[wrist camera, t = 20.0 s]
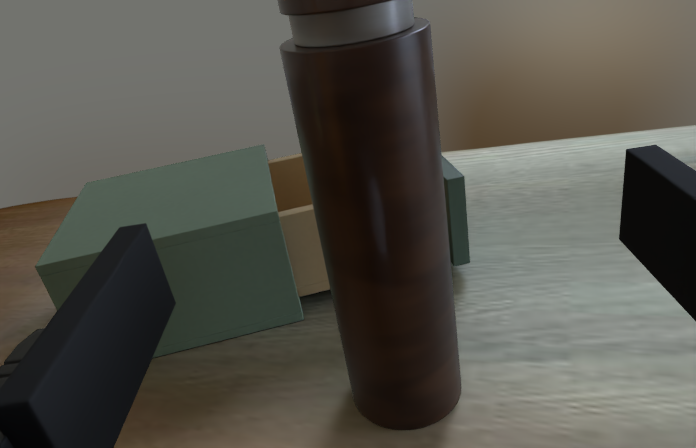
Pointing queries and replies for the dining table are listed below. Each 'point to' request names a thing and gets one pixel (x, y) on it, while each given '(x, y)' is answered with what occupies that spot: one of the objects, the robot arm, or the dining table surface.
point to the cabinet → (190, 244)
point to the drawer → (304, 230)
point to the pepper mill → (378, 199)
